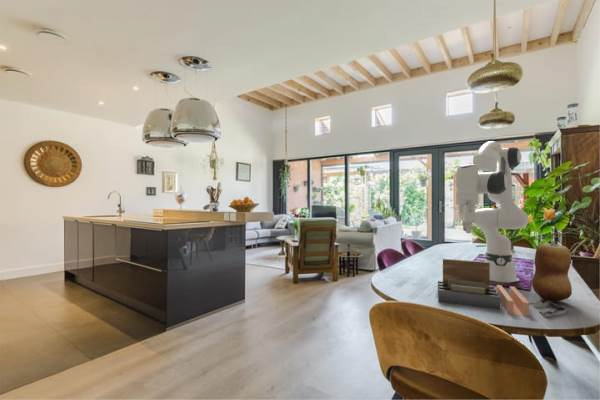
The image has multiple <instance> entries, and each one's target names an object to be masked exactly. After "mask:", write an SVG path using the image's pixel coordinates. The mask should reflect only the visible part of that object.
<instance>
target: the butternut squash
mask: <svg viewBox="0 0 600 400" xmlns="http://www.w3.org/2000/svg"><path fill="white" fill-rule="evenodd" d="M534 255H535V256H534V261H533V262H534V268H535V269H534V275H533V276H532V279H531V285H532V288H533V291H534V292H535V294H537V296H539V298H541V299H542V300H543V301H544V302H547V301H550V302H552V303H555V302H556V303H557V302H562V301H565V300H568V299H569V298H571V296H572V295H573V294H572V291H573V289H572V283H571V281H570V278H569V271H570V266H571V263H572V255H571V251H570V249H569V248H568V247H567V246H564V245H561V244H554V243H551V242H550V243H549V242H544V243H540V244H539V245H538V246H537V248H536V251H535V254H534Z"/></svg>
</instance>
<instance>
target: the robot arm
mask: <svg viewBox="0 0 600 400" xmlns="http://www.w3.org/2000/svg"><path fill="white" fill-rule="evenodd" d="M521 161H522V153H521V150H520V149H519V148H518V147H502V145H501V144H500V143H499V142H497V141H495V140H491V141H487V142H484V143H483V144H482V145H481V146H480V147H479V148H478V150H477V151H476V153H475V154H474V156H473V159H472V162H473V163H470V164H461V165H459V166H458V167H457V169H456V175H455V187H456V192H455V205H458V214H459V220H460V221H461V222H462V231H463V232H465V233H466V234H471V233H472V226H473V225H475V226H476V227H477V228H479V230H480V231H481V232H482V233H483V235H484V237H485V241H486V242H485V243H486V244H485V245H486V251H485V261H484V262H489V263H490V281H492V282H497V283H508V284H509V283H515V282H520V278H518V277H517V272H516V265H515V264H514V263H513V262H512V261H513V255H512V241H511V239H510V238H509V237H507V236H505V235H503V234H501V233H500V232H499V230H498V229H502V230H520V229H525V227H526V226H527V225H528V223H529V220H530V219H529V215H528V214H527V212H526V211H524V210H523V209H522V208H520V207H519V205H517V204H516V202H515V200H514V197H513V177H512V171H513V170H514V169H515V168H517V167H518V166H519V165H520V163H521ZM479 170H480V171H482V172H479ZM484 194H486V195H487V198H488V200H490V201H491V202H493V203H494V204H495V203H496V204H498V205H499V206H500V208H490V207H489V208H479V209H476V205H479V203H480V202H479V199H480V197H479V195H484ZM472 224H473V225H472Z"/></svg>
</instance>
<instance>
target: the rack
mask: <svg viewBox="0 0 600 400" xmlns="http://www.w3.org/2000/svg"><path fill="white" fill-rule="evenodd" d="M437 297H438V300H437V301H438V303H442V304H443V303H444V304H451V305H459V306H467V307H474V308H482V309H490V310H497V311H501V307H502V304H501V297H500V296H498V293H497V289H495V287H494V286H491V285H490V289H488V288H486V291H485V294H478V293H469V292H461V291H452V290H451V287H448V284H443V280H437Z"/></svg>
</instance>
